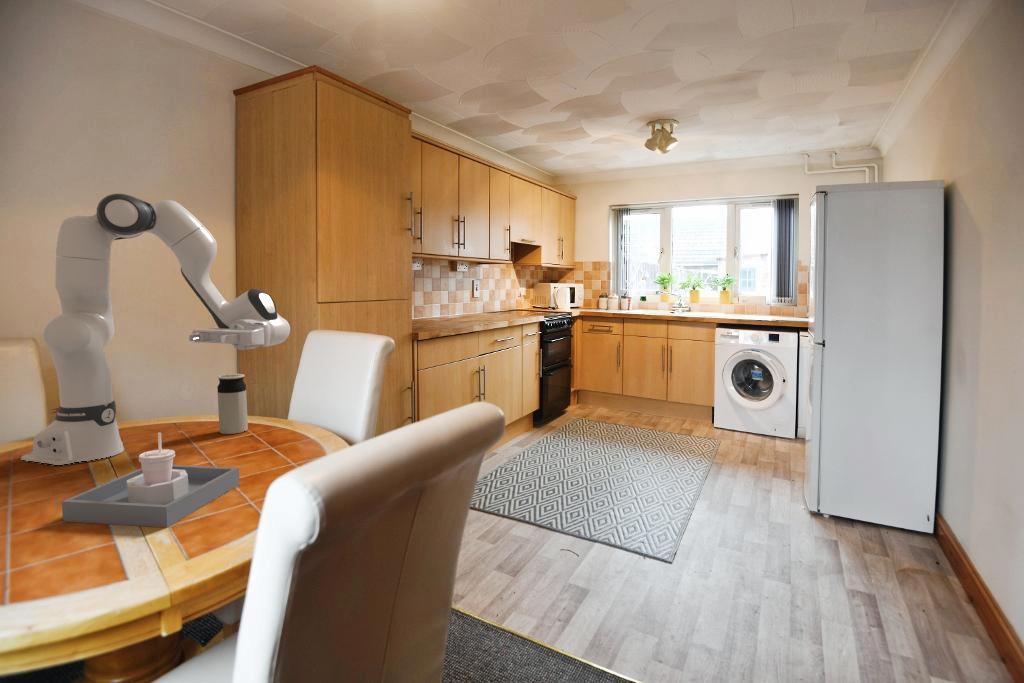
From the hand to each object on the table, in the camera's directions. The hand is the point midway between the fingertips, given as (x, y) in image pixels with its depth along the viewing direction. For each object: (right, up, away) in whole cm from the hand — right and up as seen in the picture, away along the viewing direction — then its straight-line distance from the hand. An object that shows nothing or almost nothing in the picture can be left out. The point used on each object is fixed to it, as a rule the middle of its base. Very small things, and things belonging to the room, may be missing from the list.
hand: (205, 338), depth 138 cm
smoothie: (+7, -34, -28) cm, 45 cm away
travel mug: (-7, -30, +27) cm, 40 cm away
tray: (+7, -35, -28) cm, 45 cm away
